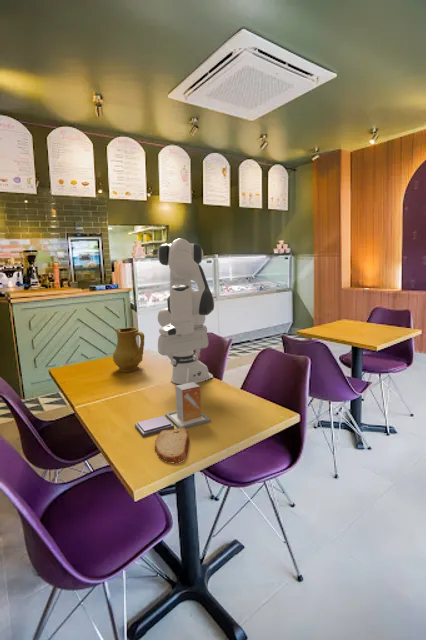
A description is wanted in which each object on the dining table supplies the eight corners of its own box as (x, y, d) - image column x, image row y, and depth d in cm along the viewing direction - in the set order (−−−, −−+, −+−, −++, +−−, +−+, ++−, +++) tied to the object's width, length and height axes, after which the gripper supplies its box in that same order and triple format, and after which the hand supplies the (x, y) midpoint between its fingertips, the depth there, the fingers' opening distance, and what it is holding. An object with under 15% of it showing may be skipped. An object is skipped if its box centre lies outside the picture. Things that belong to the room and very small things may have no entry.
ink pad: (164, 418, 142) (163, 414, 142) (174, 428, 134) (173, 424, 134) (135, 426, 137) (134, 422, 136) (143, 436, 128) (143, 432, 128)
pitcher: (133, 362, 225) (131, 324, 220) (150, 369, 212) (147, 329, 206) (108, 369, 214) (105, 329, 208) (124, 377, 200) (120, 334, 195)
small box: (183, 422, 138) (181, 390, 136) (176, 416, 144) (175, 385, 142) (201, 416, 142) (200, 385, 140) (194, 411, 148) (193, 381, 146)
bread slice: (176, 467, 109) (175, 456, 108) (137, 450, 120) (136, 440, 119) (212, 443, 123) (211, 432, 122) (174, 429, 134) (173, 420, 133)
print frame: (193, 408, 152) (193, 406, 151) (210, 421, 139) (210, 419, 139) (165, 415, 145) (165, 413, 145) (180, 429, 132) (180, 427, 132)
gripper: (202, 322, 144) (204, 355, 146) (155, 329, 134) (157, 364, 136) (210, 325, 138) (212, 359, 141) (161, 332, 129) (163, 369, 131)
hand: (184, 362), depth 138 cm, fingers open, 8 cm apart
